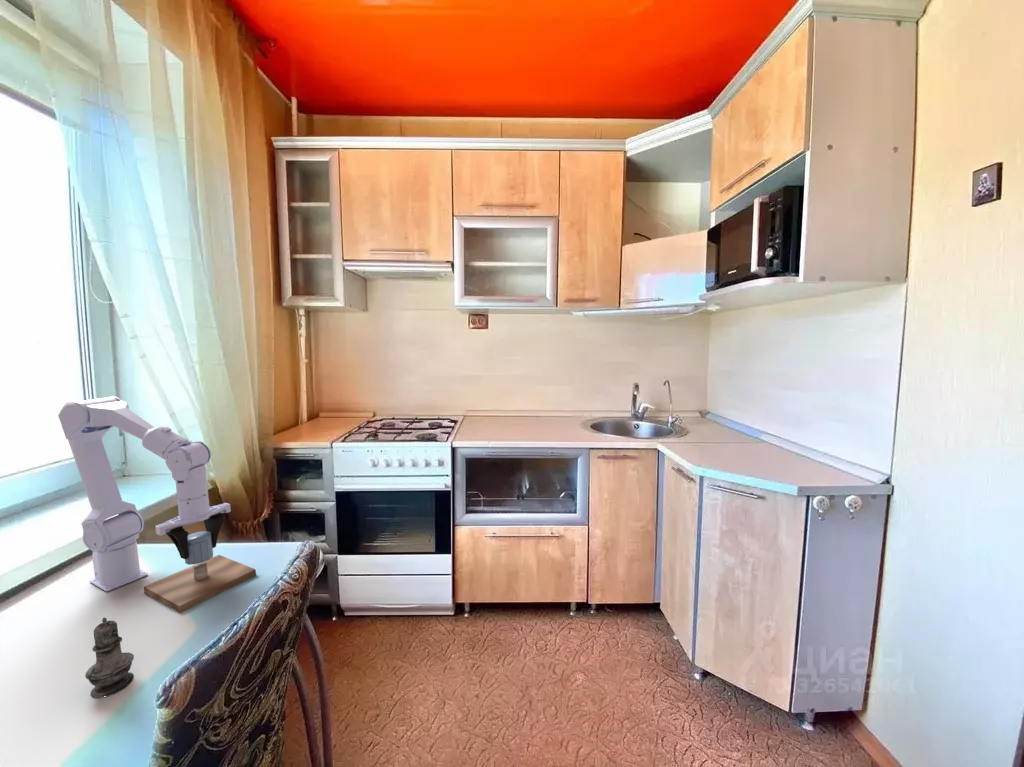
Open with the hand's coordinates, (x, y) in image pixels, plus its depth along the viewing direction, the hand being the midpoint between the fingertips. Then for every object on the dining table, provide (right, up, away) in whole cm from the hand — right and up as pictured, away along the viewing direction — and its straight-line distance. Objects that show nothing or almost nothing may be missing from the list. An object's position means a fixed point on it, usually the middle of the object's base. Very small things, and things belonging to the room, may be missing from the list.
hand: (198, 552), depth 100 cm
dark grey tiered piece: (+7, -11, -29) cm, 32 cm away
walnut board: (0, -8, +1) cm, 8 cm away
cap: (0, -2, 0) cm, 2 cm away
